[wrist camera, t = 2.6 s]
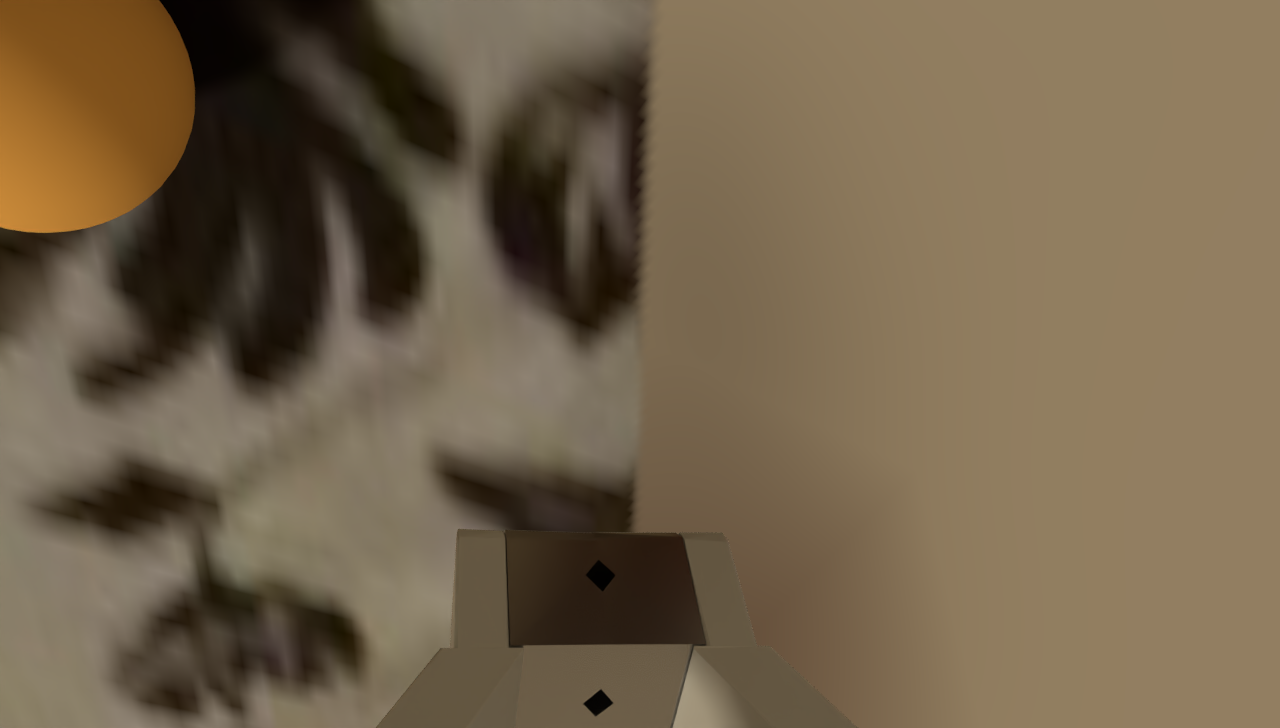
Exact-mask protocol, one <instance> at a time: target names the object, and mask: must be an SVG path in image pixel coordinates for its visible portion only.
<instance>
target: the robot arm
mask: <svg viewBox="0 0 1280 728" xmlns="http://www.w3.org/2000/svg"><path fill="white" fill-rule="evenodd" d="M376 728H857V727H856V726H855V725H854V724H853V723H852V722H851V721H850V720H849V719H847V717H845V716H844V715H843V714H842V713H841V712H840V711H839V710H838V709H837V708H836V707H835V706H834V705H833V704H832V703H830V702H829V701H828V700H827V699H826V698H825V697H824V696H823V695H822V694H821V693H820V692H819V691H818V690H817V689H815V688H814V687H813V686H812V685H811V684H810V683H809V682H808V681H807V680H806V679H805V678H804V677H803V676H801V675H800V674H799V673H798V672H797V671H796V670H795V669H794V668H793V667H792V666H790V664H789V663H787V662H786V661H785V660H784V659H783V658H782V657H781V656H780V655H779V654H778V653H777V652H776V651H775V650H773V649H772V648H771V647H770V646H757V644H756V640H755V637H754V633H753V629H752V626H751V622H750V618H749V615H748V611H747V608H746V604H745V600H744V597H743V593H742V589H741V586H740V582H739V579H738V575H737V571H736V568H735V564H734V561H733V557H732V553H731V549H730V546H729V542H728V539H727V538H726V537H725V536H724V534H723V533H679V534H677V533H617V532H591V533H577V532H550V531H523V530H505V532H503V531H494V530H471V529H458V532H457V538H456V554H455V570H454V586H453V602H452V619H451V636H450V648H440V650H439V651H438V652H437V653H436V654H435V656H434V657H433V658H432V659H431V661H430V662H429V663H428V664H427V666H426V667H425V668H424V669H423V670H422V672H421V673H420V674H419V675H418V677H417V678H416V679H415V680H414V681H413V683H412V684H411V685H410V686H409V688H408V689H407V690H406V691H405V693H404V694H403V695H402V696H401V697H400V699H399V700H398V701H397V702H396V704H395V705H394V706H393V707H392V709H391V710H390V711H389V712H388V713H387V715H386V716H385V717H384V718H383V720H382V721H381V722H380V723H379V724H378V726H377V727H376Z"/></svg>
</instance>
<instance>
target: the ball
mask: <svg viewBox="0 0 1280 728" xmlns="http://www.w3.org/2000/svg"><path fill="white" fill-rule="evenodd" d="M194 113H195V85H194V77H193V70H192V67H191V63H190V59H189V55H188V52H187V50H186V48H185V45H184V43H183V40H182V38H181V35H180V33H179V31H178V29H177V27H176V25H175V24H174V22H173V20H172V18H171V16H170V15H169V13H168V12H167V11H166V9H165V8H164V6H163V5H162V4H161V2H160V1H159V0H0V227H2V228H6V229H11V230H18V231H25V232H40V233H49V232H64V231H73V230H78V229H84V228H89V227H92V226H95V225H98V224H101V223H105V222H107V221H110V220H112V219H114V218H116V217H119V216H121V215H123V214H125V213H127V212H129V211H130V210H132V209H133V208H135V207H136V206H138V205H139V204H141V203H142V202H143V201H145V200H146V199H147V198H149V197H150V196H151V195H152V194H153V193H154V192H155V191H156V190H157V189H159V188H160V187H161V186H162V184H163V183H164V182H165V180H166V179H167V178H168V177H169V175H170V174H171V173H172V171H173V170H174V169H175V167H176V166H177V164H178V162H179V160H180V158H181V156H182V155H183V153H184V150H185V147H186V144H187V141H188V139H189V136H190V133H191V130H192V125H193V119H194Z"/></svg>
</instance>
